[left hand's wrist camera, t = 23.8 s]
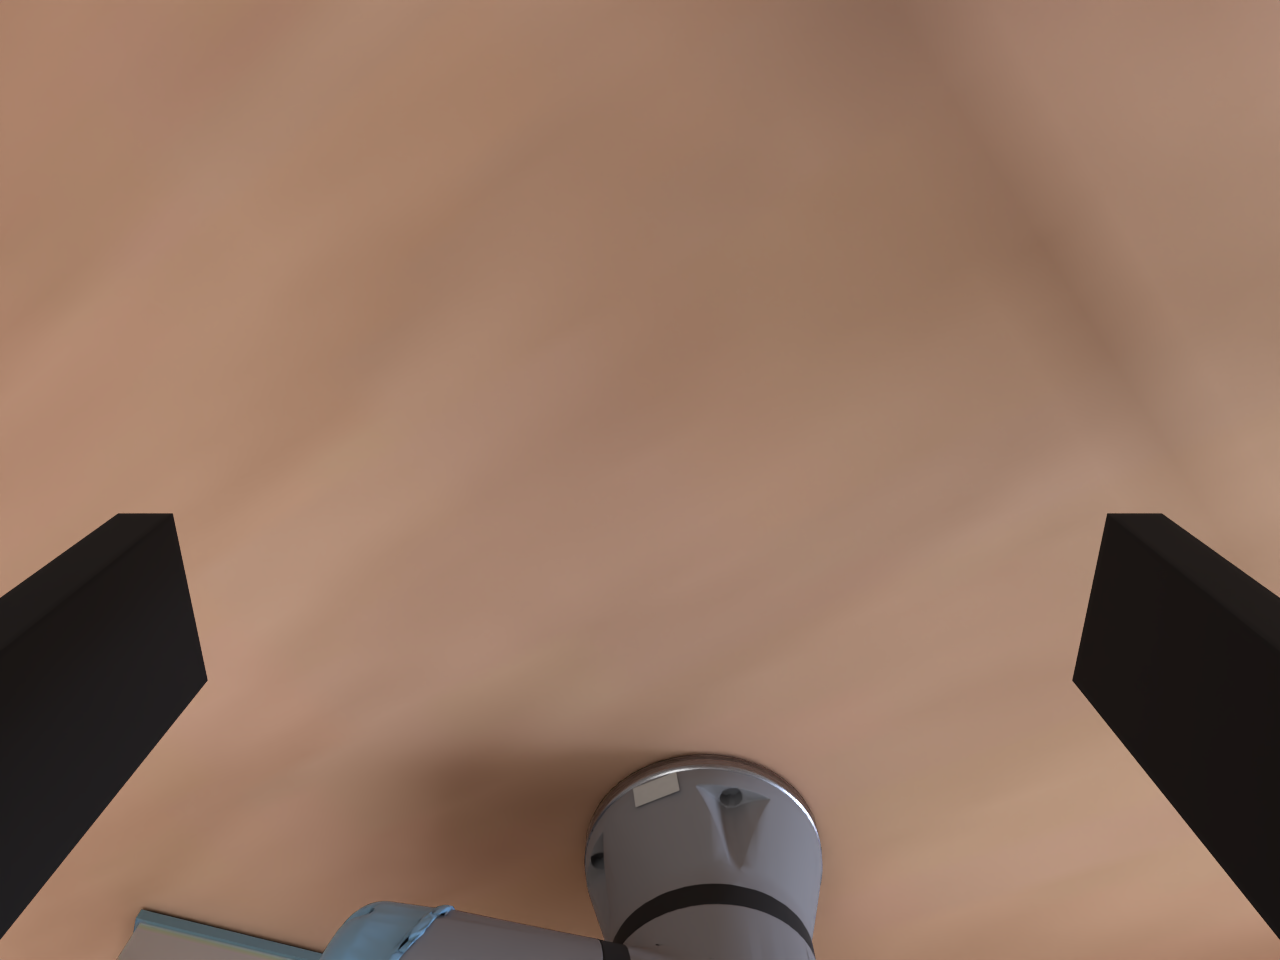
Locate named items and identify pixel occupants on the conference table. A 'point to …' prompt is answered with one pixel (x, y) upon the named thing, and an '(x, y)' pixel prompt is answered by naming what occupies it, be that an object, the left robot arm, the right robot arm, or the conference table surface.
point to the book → (200, 942)
